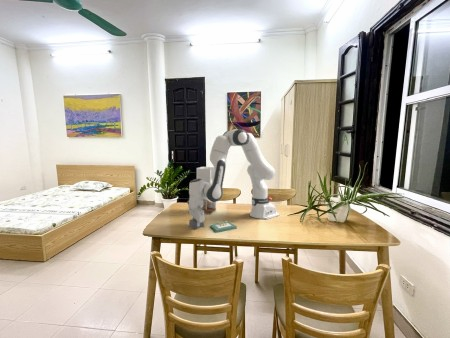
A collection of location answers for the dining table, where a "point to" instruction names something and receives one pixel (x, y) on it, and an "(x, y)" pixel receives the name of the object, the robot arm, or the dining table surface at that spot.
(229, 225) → the header board
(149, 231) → the dining table surface
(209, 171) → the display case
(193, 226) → the block
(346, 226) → the dining table surface
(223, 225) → the header pins
